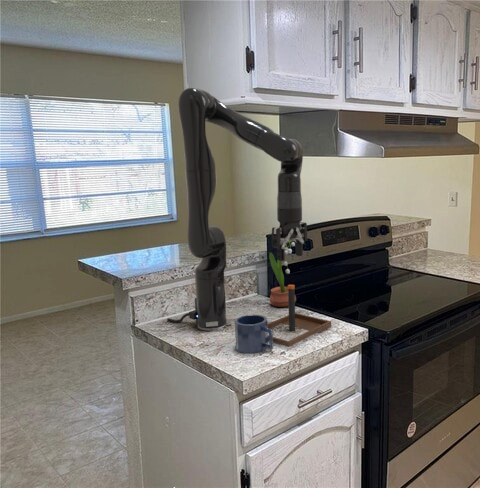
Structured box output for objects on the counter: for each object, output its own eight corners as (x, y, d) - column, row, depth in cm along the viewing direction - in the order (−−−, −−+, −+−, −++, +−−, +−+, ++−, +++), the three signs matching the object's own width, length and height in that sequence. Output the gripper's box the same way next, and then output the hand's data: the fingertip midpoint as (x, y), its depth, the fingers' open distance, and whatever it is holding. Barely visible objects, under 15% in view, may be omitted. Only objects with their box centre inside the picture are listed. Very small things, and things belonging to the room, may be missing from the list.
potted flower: (286, 297, 193) (284, 234, 188) (305, 302, 187) (304, 237, 182) (264, 305, 184) (261, 239, 179) (283, 310, 178) (281, 242, 173)
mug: (229, 350, 143) (228, 321, 141) (251, 340, 150) (250, 312, 148) (261, 361, 135) (260, 330, 134) (283, 350, 143) (282, 320, 141)
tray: (250, 337, 153) (250, 331, 152) (294, 317, 170) (294, 312, 169) (288, 348, 144) (288, 342, 143) (331, 327, 161) (331, 321, 160)
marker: (287, 331, 156) (286, 285, 153) (291, 329, 158) (290, 284, 155) (292, 332, 155) (291, 286, 152) (296, 330, 157) (295, 285, 154)
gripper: (294, 203, 157) (295, 252, 160) (264, 207, 146) (265, 260, 149) (313, 204, 153) (313, 255, 156) (283, 209, 141) (284, 264, 144)
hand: (290, 258), depth 152 cm, fingers open, 8 cm apart
